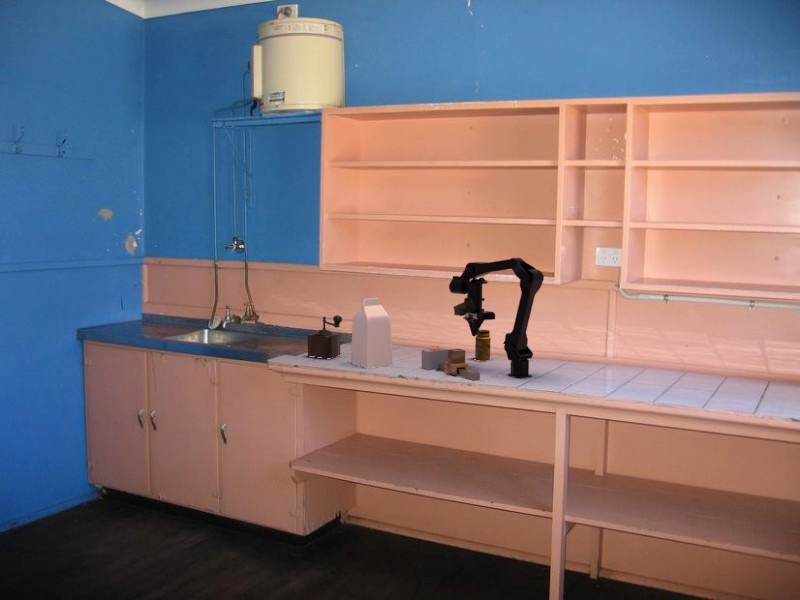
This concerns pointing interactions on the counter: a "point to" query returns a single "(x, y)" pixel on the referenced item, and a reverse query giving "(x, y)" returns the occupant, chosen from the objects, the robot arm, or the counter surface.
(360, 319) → the milk
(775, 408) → the counter surface
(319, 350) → the manual coffee grinder
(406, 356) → the counter surface
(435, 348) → the brown rounded piece
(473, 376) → the rail
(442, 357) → the grey peg holder
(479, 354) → the condiment
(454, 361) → the carriage
